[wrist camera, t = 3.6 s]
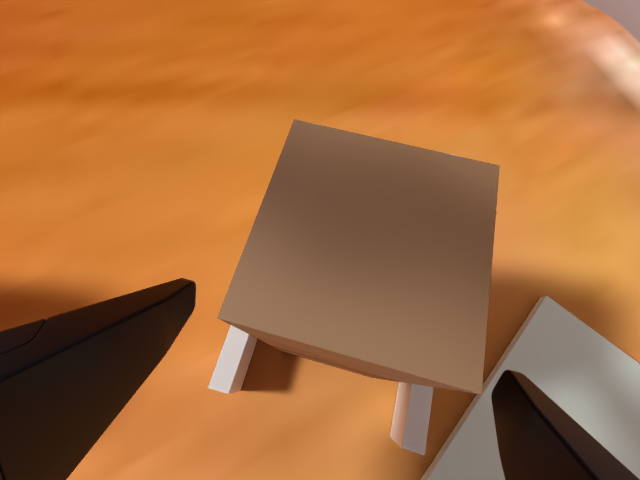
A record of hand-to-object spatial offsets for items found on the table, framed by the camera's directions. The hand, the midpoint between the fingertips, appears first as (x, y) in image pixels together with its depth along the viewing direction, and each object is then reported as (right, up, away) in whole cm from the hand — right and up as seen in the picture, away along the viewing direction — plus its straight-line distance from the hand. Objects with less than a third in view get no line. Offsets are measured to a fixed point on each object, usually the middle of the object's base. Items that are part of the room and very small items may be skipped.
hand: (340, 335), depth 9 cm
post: (0, -2, +9) cm, 9 cm away
